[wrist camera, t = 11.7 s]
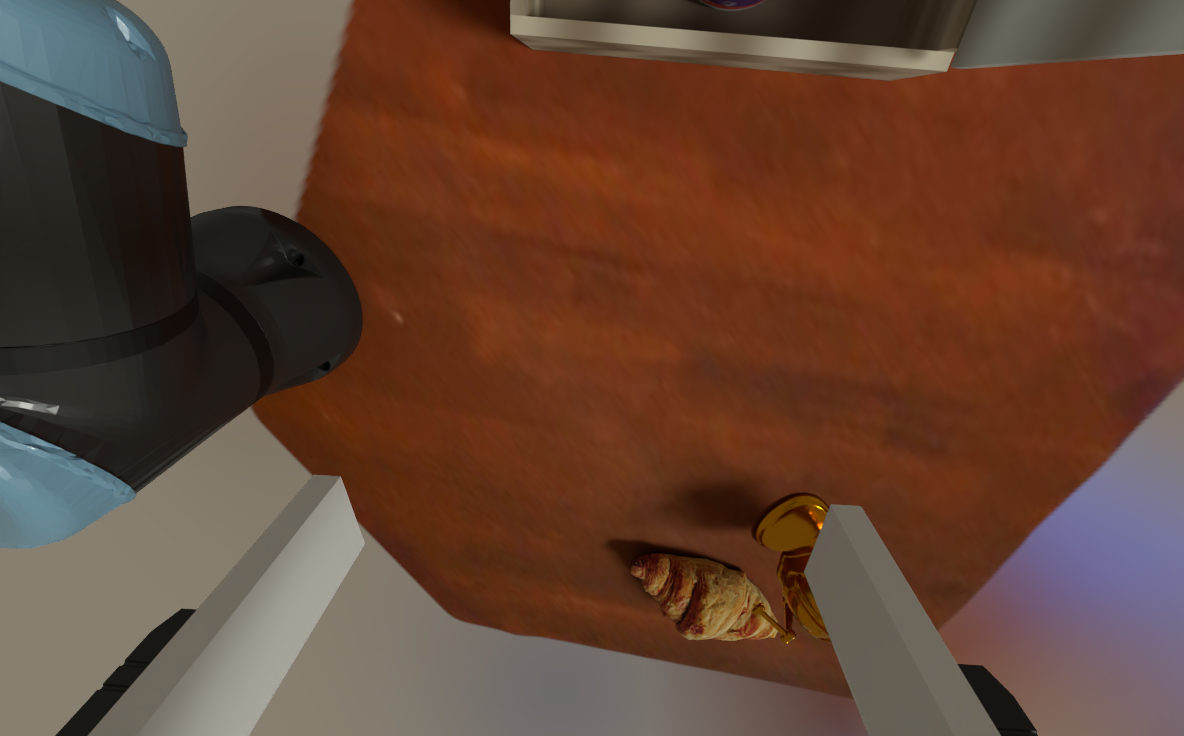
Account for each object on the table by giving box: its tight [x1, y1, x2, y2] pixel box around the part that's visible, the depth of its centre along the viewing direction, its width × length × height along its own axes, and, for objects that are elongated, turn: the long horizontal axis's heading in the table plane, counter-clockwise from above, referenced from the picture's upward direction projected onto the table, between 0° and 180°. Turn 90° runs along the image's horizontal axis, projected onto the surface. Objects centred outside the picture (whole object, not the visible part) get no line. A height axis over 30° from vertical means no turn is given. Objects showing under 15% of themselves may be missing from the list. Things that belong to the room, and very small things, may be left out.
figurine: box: [752, 493, 832, 644], centre depth 42 cm, size 8×11×12 cm
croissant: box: [630, 553, 778, 641], centre depth 50 cm, size 21×10×8 cm, turn 59°
